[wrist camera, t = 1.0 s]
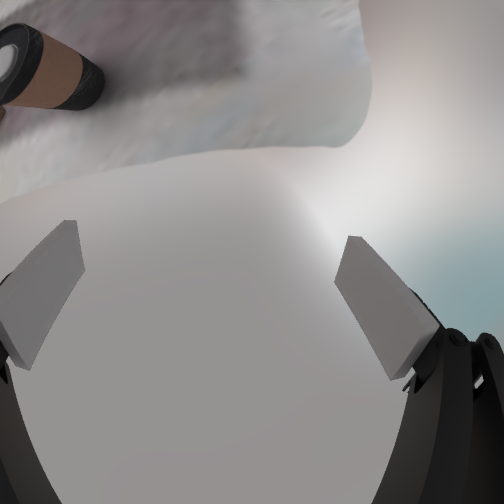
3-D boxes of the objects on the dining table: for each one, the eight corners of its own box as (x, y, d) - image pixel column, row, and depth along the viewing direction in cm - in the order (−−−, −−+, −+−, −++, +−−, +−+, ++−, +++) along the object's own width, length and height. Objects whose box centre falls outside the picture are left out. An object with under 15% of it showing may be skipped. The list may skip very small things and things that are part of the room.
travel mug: (86, 54, 25) (10, 11, 7) (117, 80, 28) (45, 38, 10) (53, 95, 26) (-37, 84, 8) (81, 122, 29) (-9, 121, 11)
